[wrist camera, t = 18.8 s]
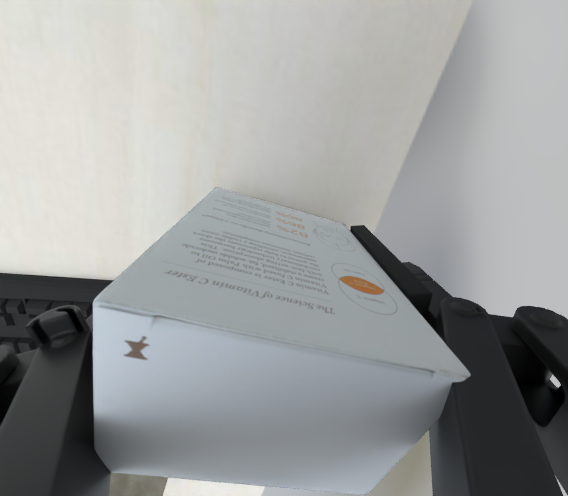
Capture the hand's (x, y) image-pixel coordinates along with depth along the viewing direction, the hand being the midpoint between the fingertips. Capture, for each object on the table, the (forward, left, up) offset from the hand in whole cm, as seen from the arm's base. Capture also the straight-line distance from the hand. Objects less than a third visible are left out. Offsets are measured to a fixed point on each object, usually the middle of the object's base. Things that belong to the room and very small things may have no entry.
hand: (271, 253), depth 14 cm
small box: (0, 0, -1) cm, 1 cm away
